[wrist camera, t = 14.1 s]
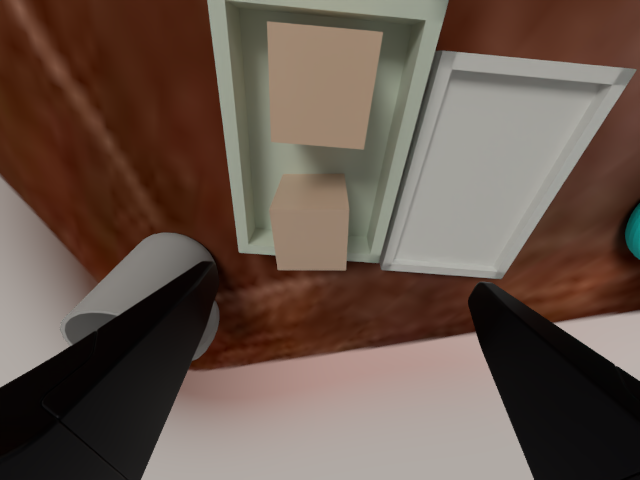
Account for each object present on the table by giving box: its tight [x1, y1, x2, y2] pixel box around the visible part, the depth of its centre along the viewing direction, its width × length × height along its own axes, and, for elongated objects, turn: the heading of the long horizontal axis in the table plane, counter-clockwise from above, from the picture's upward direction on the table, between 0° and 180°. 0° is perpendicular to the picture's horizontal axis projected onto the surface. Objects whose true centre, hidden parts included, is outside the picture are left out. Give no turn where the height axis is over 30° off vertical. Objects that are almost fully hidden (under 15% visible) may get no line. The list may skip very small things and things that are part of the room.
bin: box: [207, 0, 449, 263], centre depth 17 cm, size 11×16×3 cm
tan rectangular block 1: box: [267, 21, 383, 150], centre depth 14 cm, size 4×4×6 cm
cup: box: [60, 233, 219, 360], centre depth 22 cm, size 7×10×9 cm
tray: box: [379, 51, 637, 279], centre depth 20 cm, size 11×16×1 cm
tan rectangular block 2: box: [269, 174, 349, 270], centre depth 18 cm, size 4×4×6 cm
